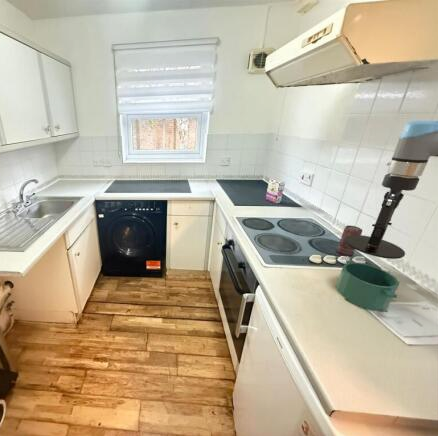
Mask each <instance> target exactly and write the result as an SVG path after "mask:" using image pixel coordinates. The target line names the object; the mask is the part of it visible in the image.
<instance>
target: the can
mask: <svg viewBox="0 0 438 436" xmlns="http://www.w3.org/2000/svg"><path fill="white" fill-rule="evenodd" d="M363 232H364V231H363V228H361V227H359V226H355V225H346V226H344V228H343V230H342V234H341V237H340V239H339V242H338V245H337V248H336V254H338V255H340V256H343V257H347V256H348V258H351V257H353V255H354V253H355V251H356V250H355V249H353V248H352V247H350V246H348V245H347V244H346V243H345V241H344V239H345V237H346V236H349V235H362V234H363Z"/></svg>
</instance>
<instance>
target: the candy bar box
mask: <svg viewBox="0 0 438 436" xmlns="http://www.w3.org/2000/svg"><path fill="white" fill-rule="evenodd" d="M285 185H286V182H285V181H282V180H278V179H275V178H274V179H269V180H268V184H267V189H266V194H265V198H264V199H265V201H267V202H270V203H272V204H275V205H279V204H281V202H282V198H283V193H284V189H285Z"/></svg>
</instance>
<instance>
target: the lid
mask: <svg viewBox="0 0 438 436" xmlns="http://www.w3.org/2000/svg"><path fill="white" fill-rule="evenodd" d="M387 226H388V227H389V225H386V228H387V229H388V227H387ZM387 229H386V230H385V231H387ZM384 233H385V234H386V232H384ZM385 234H383V235H384V236H385ZM384 236H383V237H382V238H384ZM369 239H370V235H362V234H361V235H349V236H346V237H345V239H344V241H345V243H346V244H347V245H348V246H350V247H352V248H353V249H355V250H354V251H358V252H359V253H363V254H366V255H369V256H372V257H376V258H380V259H381V258H382V259H389V260H398V259H399V260H400V259H402V258H404V257H405V256H406V252H405V250H404V249H403V248H402V247H400V246H398V245H396V244H394V243H392V242H390V241H387V240H385V239H381V240H382V241H380V242H381V243H380V244H379V246H374V245H371V244H368V241H369Z"/></svg>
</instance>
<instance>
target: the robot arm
mask: <svg viewBox="0 0 438 436" xmlns="http://www.w3.org/2000/svg"><path fill="white" fill-rule="evenodd" d="M431 157H437V158H438V120H411V121H409V122H406V124H405V125H404V127H403V129H402V131H401V133H400V135H399V137H398V140H397V144H396V146H395V149H394V152H393V155H392V157H391V160H390V162H387V163H386V166H387V170H386V174H385V175H384V177H383V180H382V182H381V186H382V187H383V188H386V189H390V190H389V191H386V192H385V194H384V196H383V201H382V203H381V208H380V211H379V213H378V216H377V219H376V221H375V223H372V224H371V226H372V227H373V229H372V231H371V234H370V235H369V237H370V239H369V241H368V244H371V245H374V246H379V244H380V243H381V242H380V241H382V240H384V239H383V238H384V236H385V234H386V231H387V229H388V227H389V226H392V224H393V223H392V222H391V221H392V217H393V215H394V213H395V211H396V209H397V208H398V207H399V205H400V202H401V201H402V200H403V198H404V196H405V194H404V193H403V191H408V192H411V191H414V190H416V189H417V186H418V184H419V181H420V177H422V176H423V174H424V171H425V169H426V167H427V164H428V162H429V159H430V158H431ZM386 225H388V226H387V228H386ZM385 230H386V231H385ZM384 232H385V233H384ZM383 234H384V235H383ZM382 237H383V238H382ZM381 239H382V240H381Z"/></svg>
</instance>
